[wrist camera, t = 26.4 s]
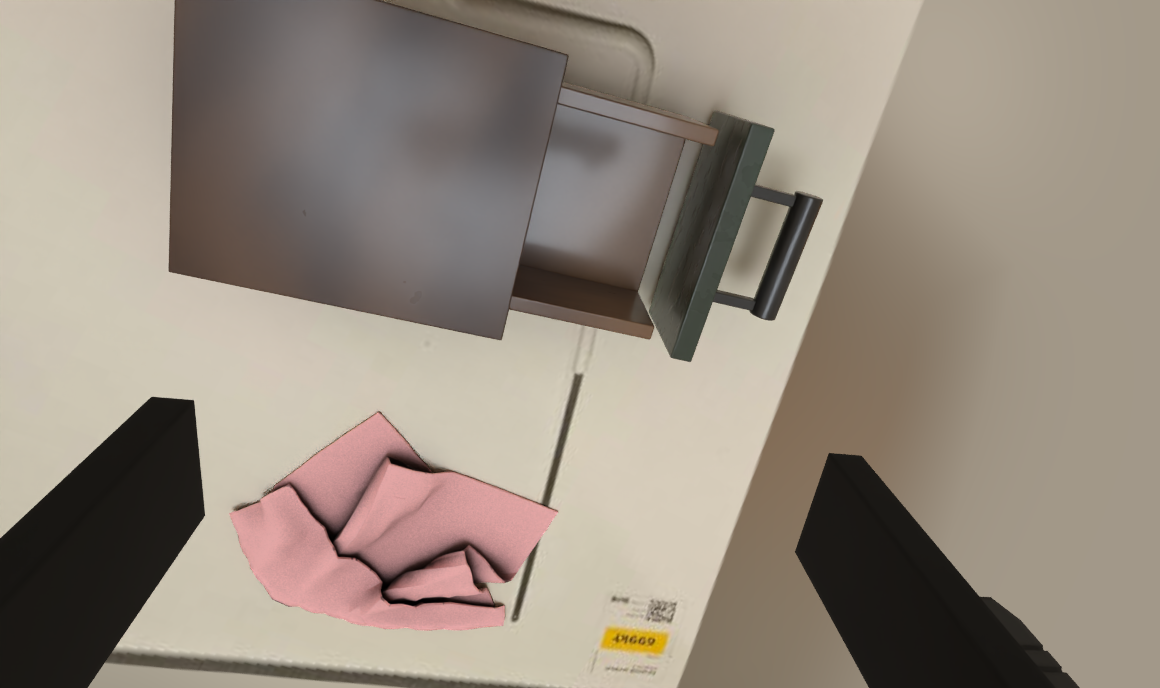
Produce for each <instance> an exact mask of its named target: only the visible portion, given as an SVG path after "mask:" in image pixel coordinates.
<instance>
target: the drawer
mask: <svg viewBox="0 0 1160 688" xmlns="http://www.w3.org/2000/svg"><path fill="white" fill-rule="evenodd" d="M773 134H774V129H773V128H771V127H768V126H764V125H761V124H758V123H755V122H752V121H749V120H746V119H743V118H740V117H737V116H734V115H730V114H727V113H723V112H720V111H716V110H715V111H714V112H713V115H712V118H711V121H710V124H709V125H706V124H704V123H702V122H699V121H697V120H695V119H692V118H690V117H687V116H684V115H680V114H677V113H673V112H669V111H666V110H662V109H659V108H655V107H652V106H648V105H645V104H641V103H637V102H634V101H630V100H627V99H623V98H620V97H616V96H612V95H609V94H605V93H602V92H598V91H595V90H591V89H587V88H584V87H580V86H577V85H573V84H570V83H566V82H563V83H562V87H561V91H560V95H559V99H558V104H557V108H556V112H555V116H554V121H553V125H552V129H551V133H550V138H549V142H548V146H547V150H546V155H545V159H544V163H543V167H542V172H541V176H540V180H539V184H538V188H537V193H536V197H535V201H534V205H533V210H532V214H531V218H530V222H529V227H528V231H527V235H526V239H525V244H524V248H523V252H522V256H521V260H520V265H519V269H518V273H517V277H516V282H515V286H514V290H513V294H512V299H511V303H510V307H509V309H510V310H515V311H520V312H524V313H529V314H534V315H538V316H543V317H548V318H552V319H557V320H562V321H566V322H571V323H575V324H580V325H585V326H589V327H594V328H599V329H603V330H608V331H613V332H617V333H622V334H627V335H631V336H636V337H641V338H645V339H650V338H651V336H652V333H653V330H654V325H653V323H652V321H651V319H650V317H649V315H648V312H647V310H646V308H645V306H644V304H643V302H642V300H641V298H640V295H639V293H638V290H639V287H640V283H641V280H642V277H643V274H644V271H645V267H646V264H647V261H648V258H649V255H650V251H651V248H652V245H653V242H654V239H655V235H656V232H657V229H658V226H659V223H660V220H661V216H662V213H663V210H664V207H665V204H666V200H667V197H668V194H669V191H670V188H671V184H672V181H673V178H674V175H675V172H676V168H677V165H678V162H679V159H680V156H681V152H682V149H683V146H684V143H685V140H686V139H687V140H691V141H694V142H698V143H702V144H703V146H702V149H701V152H700V155H699V158H698V161H697V164H696V168H695V171H694V174H693V177H692V180H691V183H690V186H689V189H688V192H687V195H686V198H685V201H684V205H683V208H682V211H681V214H680V217H679V220H678V223H677V226H676V229H675V232H674V235H673V239H672V242H671V245H670V248H669V251H668V254H667V257H666V260H665V263H664V266H663V269H662V272H661V276H660V279H659V282H658V285H657V288H656V291H655V294H654V297H653V300H652V303H651V306H650V310H649V313H650V315H651V317H652V319H653V322H654V324H655V326H656V328H657V330H658V332H659V334H660V336H661V338H662V340H663V342H664V345H665V347H666V349H667V351H668V353H669V355H670V357H671V358H674V359H679V360H684V361H688V362H691V360H692V357H693V355H694V352H695V349H696V346H697V344H698V341H699V338H700V335H701V333H702V330H703V327H704V324H705V322H706V319H707V316H708V313H709V310H710V308H711V305H712V302H716V303H720V304H724V305H729V306H733V307H738V308H742V309H746V310H750V313H752V314H753V315H755V316H756V317H759V318H761V319H764V320H771V321H772V320H775V318H776V316H777V313H778V311H779V308H780V306H781V303H782V301H783V298H784V296H785V293H786V291H787V289H788V286H789V284H790V281H791V279H792V276H793V274H794V271H795V269H796V266H797V264H798V261H799V259H800V256H801V254H802V251H803V249H804V247H805V244H806V242H807V239H808V237H809V234H810V232H811V229H812V227H813V224H814V222H815V219H816V217H817V214H818V212H819V209H820V207H821V205H822V202H823V199H821V198H819V197H817V196H814V195H811V194H808V193H804V192H800V191H796V192H795V194H794V195H793V194H790V193H786V192H782V191H778V190H775V189H771V188H767V187H763V186H760V185H756V184H755V183H756V181H757V178H758V175H759V172H760V169H761V167H762V164H763V161H764V158H765V156H766V153H767V150H768V147H769V145H770V142H771V139H772V136H773ZM750 197H755V198H759V199H762V200H766V201H770V202H774V203H778V204H781V205H785V206H789V209H788V212H787V214H786V217H785V219H784V222H783V225H782V227H781V230H780V232H779V235H778V238H777V240H776V243H775V245H774V248H773V250H772V253H771V256H770V258H769V261H768V263H767V266H766V269H765V271H764V274H763V276H762V279H761V282H760V284H759V287H758V289H757V292H756V294H755V297H754V299H753V298H750V297H746V296H741V295H737V294H733V293H729V292H724V291H720V290H717V288H718V286H719V283H720V280H721V277H722V275H723V272H724V269H725V266H726V263H727V261H728V258H729V255H730V252H731V250H732V247H733V244H734V241H735V239H736V236H737V233H738V230H739V228H740V225H741V222H742V219H743V216H744V214H745V211H746V208H747V205H748V203H749V200H750Z"/></svg>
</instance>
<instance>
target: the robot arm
mask: <svg viewBox="0 0 1160 688" xmlns="http://www.w3.org/2000/svg"><path fill="white" fill-rule="evenodd" d="M204 516H205V510H204V500H203V489H202V479H201V469H200V458H199V448H198V437H197V427H196V417H195V406H194V400H184V399H172V398H160V397H151V398H150V399H149V400H148V401H147V402H146V403H144V404H143V405H142V406H141V407H140V408H139V409H138V410H137V411H136V412H135V413H134V414H133V415H132V416H131V417H129V418H128V419H127V420H126V421H125V422H124V423H123V424H122V425H121V426H120V427H119V428H118V429H117V430H116V431H115V432H113V433H112V434H111V435H110V436H109V437H108V438H107V439H106V440H105V441H104V442H103V443H102V444H101V445H100V446H99V447H97V448H96V449H95V450H94V451H93V452H92V453H91V454H90V455H89V456H88V457H87V458H86V459H85V460H84V461H82V462H81V463H80V464H79V465H78V466H77V467H76V468H75V469H74V470H73V471H72V472H71V473H70V474H69V475H68V476H66V477H65V478H64V479H63V480H62V481H61V482H60V483H59V484H58V485H57V486H56V487H55V488H54V489H53V490H51V491H50V492H49V493H48V494H47V495H46V496H45V497H44V498H43V499H42V500H41V501H40V502H39V503H38V504H37V505H35V506H34V507H33V508H32V509H31V510H30V511H29V512H28V513H27V514H26V515H25V516H24V517H23V518H22V519H20V520H19V521H18V522H17V523H16V524H15V525H14V526H13V527H12V528H11V529H10V530H9V531H8V532H7V533H6V534H4V535H3V536H2V537H1V538H0V688H88V686H89V685H90V683H91V682H92V680H93V679H94V678H95V676H96V674H97V673H98V672H99V670H100V669H101V667H102V666H103V664H104V663H105V661H106V660H107V658H108V657H109V656H110V654H111V653H112V651H113V650H114V648H115V647H116V645H117V644H118V642H119V641H120V639H121V638H122V636H123V635H124V634H125V632H126V631H127V629H128V628H129V626H130V625H131V623H132V622H133V620H134V619H135V617H136V616H137V614H138V613H139V611H140V610H141V609H142V607H143V606H144V604H145V603H146V601H147V600H148V598H149V597H150V595H151V594H152V592H153V591H154V589H155V588H156V587H157V585H158V584H159V582H160V581H161V579H162V578H163V576H164V575H165V573H166V572H167V570H168V569H169V567H170V566H171V565H172V563H173V562H174V560H175V559H176V557H177V556H178V554H179V553H180V551H181V550H182V548H183V547H184V545H185V544H186V543H187V541H188V540H189V538H190V537H191V535H192V534H193V532H194V531H195V529H196V528H197V526H198V525H199V523H200V522H201V521H202V519H203V518H204ZM795 553H796V555H797V556H798V558H799V560H800V562H801V563H802V566H803V567H804V569H805V571H806V573H807V575H808V577H809V578H810V580H811V582H812V584H813V586H814V587H815V589H816V591H817V593H818V595H819V597H820V598H821V600H822V602H823V604H824V606H825V608H826V610H827V611H828V613H829V615H830V617H831V619H832V621H833V622H834V624H835V626H836V628H837V630H838V632H839V633H840V635H841V637H842V639H843V641H844V643H845V644H846V646H847V648H848V650H849V652H850V654H851V655H852V657H853V659H854V661H855V663H856V664H857V667H858V668H859V670H860V672H861V674H862V676H863V678H864V679H865V681H866V683H867V685H868V687H869V688H1079V686H1077V684H1076V683H1075V682H1074V681H1073V680H1072V678H1071V677H1070V676H1069V675H1068V674H1067V673H1063V672H1062V670H1061V668H1062V667H1061V666H1060V665H1059V664H1058V662H1057V661H1056V660H1055V659H1054V658H1053V657H1052V656H1051V654H1050V653H1049V652H1048V651H1044V650H1043V645H1042V644H1041V643H1040V642H1039V641H1038V640H1037V639H1036V637H1035V636H1034V635H1033V634H1032V633H1031V632H1030V631H1029V629H1028V628H1027V627H1026V626H1025V625H1024V624H1023V622H1022V621H1021V620H1019V619H1018V618H1017V617H1016V616H1014V615H1013V614H1012V613H1010V612H1009V611H1008V610H1007V609H1005V608H1004V607H1003V606H1001V605H1000V604H999V603H997V602H996V601H995V600H993V599H992V598H991V597H979V596H978V595H977V593H976V592H975V591H974V590H973V588H972V587H971V586H970V585H969V584H968V582H967V581H966V580H965V579H964V578H963V577H962V575H961V574H960V573H959V572H958V571H957V569H956V568H955V567H954V566H953V565H952V563H951V562H950V561H949V560H948V559H947V557H946V556H945V555H944V554H943V553H942V551H941V550H940V549H939V548H938V547H937V545H936V544H935V543H934V542H933V541H932V539H931V538H930V537H929V536H928V535H927V533H926V532H925V531H924V530H923V529H922V528H921V527H920V525H919V524H918V523H917V522H916V520H915V519H914V518H913V517H912V516H911V514H910V513H909V512H908V511H907V510H906V508H905V507H904V506H903V505H902V504H901V502H900V501H899V500H898V499H897V498H896V496H895V495H894V494H893V493H892V492H891V491H890V489H889V488H888V487H887V486H886V485H885V483H884V482H883V481H882V480H881V479H880V477H879V476H878V475H877V474H876V473H875V471H874V470H873V469H872V468H871V467H870V465H868V463H867V462H866V461H865V459H864V458H863V457H862V456H857V455H846V454H834V453H829V454H828V457H827V460H826V463H825V466H824V469H823V472H822V475H821V478H820V481H819V484H818V487H817V489H816V492H815V496H814V498H813V501H812V504H811V507H810V510H809V513H808V516H807V519H806V521H805V524H804V527H803V530H802V533H801V536H800V539H799V542H798V545H797V548H796V551H795Z"/></svg>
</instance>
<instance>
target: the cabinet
mask: <svg viewBox="0 0 1160 688" xmlns="http://www.w3.org/2000/svg"><path fill="white" fill-rule="evenodd" d="M568 57H569V56H568V55H567V54H564V53H561V52H557V51H554V50H550V49H547V48H543V47H540V46H536V45H533V44H529V43H526V42H522V41H519V40H516V39H512V38H509V37H505V36H502V35H498V34H495V33H491V32H488V31H484V30H481V29H477V28H474V27H470V26H467V25H463V24H460V23H457V22H453V21H450V20H446V19H443V18H439V17H436V16H432V15H429V14H425V13H422V12H418V11H415V10H411V9H408V8H404V7H401V6H398V5H394V4H391V3H387V2H384V1H380V0H175V15H174V60H173V104H172V148H171V192H170V237H169V272H172V273H177V274H182V275H187V276H192V277H196V278H201V279H206V280H211V281H216V282H221V283H226V284H230V285H235V286H240V287H245V288H250V289H255V290H259V291H264V292H269V293H274V294H279V295H284V296H289V297H293V298H298V299H303V300H308V301H313V302H318V303H322V304H327V305H332V306H337V307H342V308H347V309H352V310H356V311H361V312H366V313H371V314H376V315H381V316H386V317H390V318H395V319H400V320H405V321H410V322H415V323H419V324H424V325H429V326H434V327H439V328H444V329H449V330H453V331H458V332H463V333H468V334H473V335H478V336H482V337H487V338H492V339H497V340H502V337H503V333H504V328H505V324H506V320H507V316H508V311H509V307H510V303H511V299H512V294H513V290H514V286H515V282H516V277H517V273H518V269H519V265H520V260H521V256H522V252H523V248H524V244H525V239H526V235H527V231H528V227H529V222H530V218H531V214H532V210H533V205H534V201H535V197H536V193H537V188H538V184H539V180H540V176H541V172H542V167H543V163H544V159H545V155H546V150H547V146H548V142H549V138H550V133H551V129H552V125H553V121H554V116H555V112H556V108H557V104H558V99H559V95H560V91H561V87H562V83H563V78H564V74H565V70H566V66H567V61H568Z"/></svg>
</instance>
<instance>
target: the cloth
mask: <svg viewBox="0 0 1160 688" xmlns="http://www.w3.org/2000/svg"><path fill="white" fill-rule="evenodd" d="M557 513H558V511H556V510H553V509H550V508H548V507H546V506H543V505H541V504H539V503H536V502H533V501H530V500H528V499H525V498H523V497H520V496H518V495H515V494H513V493H510V492H508V491H505V490H503V489H500V488H497V487H495V486H492V485H489V484H486V483H484V482H481V481H478V480H476V479H473V478H471V477H468V476H465V475H462V474H459V473H456V472H453V471H449V472H440V473H433V472H432V471H431V470H430V468H429V467H428V466H427V465H426V464H425V463H424V462H423V461H422V460H421V459H420V458H419V457H418V455H417V454H416V453H415V452H414V450H413V449H412V448H411V446H410V445H409V444H408V443H407V441H406V440H405V439H404V438H403V437H402V436H401V435H400V434H399V433H398V431H397V430H396V429H395V428H394V427H393V426H392V425H391V424H390V423H389V422H388V421H387V420H386V418H385V417H384V416H383V415H382V414H381V413H380V412H378V413H376V414H375V415H373V416H372V417H370V418H369V419H367V420H366V421H364V422H362V423H361V424H359V425H358V426H356V427H355V428H353V429H352V430H350V431H349V432H347V433H346V434H344V435H343V436H342V437H340V438H339V439H337V440H336V441H335V442H333V443H332V444H330V445H329V446H327V447H326V448H324V449H323V450H321V451H320V452H318V453H317V454H315V455H314V456H313V457H312V458H310V459H309V460H308V461H307V462H305V463H304V464H303V465H302V466H300V467H299V468H298V469H296V470H295V471H293V472H292V473H290V474H289V475H288V476H287V477H285V478H284V479H283V480H281V481H280V482H279V483H277V484H276V485H275V486H274V488H273V490H272V492H271V493H270V494H268V495H266V496H265V497H263V498H262V499H260V502H259V503H256V504H253V505H250V506H248V507H246V508H243V509H241V510H238V511H235V512H232V513H229V514H230V517H231V520H232V522H233V525H234V527H235V529H236V531H237V533H238V538H239V543H240V546H241V548H242V551H243V553H244V554H245V556H246V557H247V559H248V561H249V564H250V567H251V570H252V571H253V573H254V575H255V576H256V578H257V579H258V580H259V581H260V582H261V583H262V584H263V586H264V587H265V589H266V590H267V592H268V594H269V595H270V597H271V598H272V599H273V600H275V601H277V602H279V603H282V604H284V605H286V606H288V607H301V608H303V609H305V610H307V611H310V612H313V613H325V614H327V615H329V616H332V617H335V618H339V619H344V620H346V621H348V622H350V623H353V624H357V625H363V626H374V627H379V628H383V629H400V628H410V629H415V630H439V629H448V630H469V629H476V628H482V627H493V626H503V624H504V618H505V605H503V606H500V607H497V608H495V606H494V603H493V600H492V598H491V595H490V593H489V591H488V589H487V588H482V589H478V588H477V587H476V586H475V585H474V584H473V583H481V582H492V583H506V582H509V581H512V579H513V578H514V576H515V575H516V573H517V572H518V570H519V568H520V567H521V565H522V564H523V562H524V561H525V560H526V558H527V557H528V555H529V554H530V553H531V551H532V550H533V548H534V547H535V545H536V544H537V543H538V541H539V540H540V538H541V537H542V535H543V534H544V533H545V531H546V530H547V528H548V527H549V525H550V523H551V522H552V520H553V519H554V517H555V516H556V514H557Z"/></svg>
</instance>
